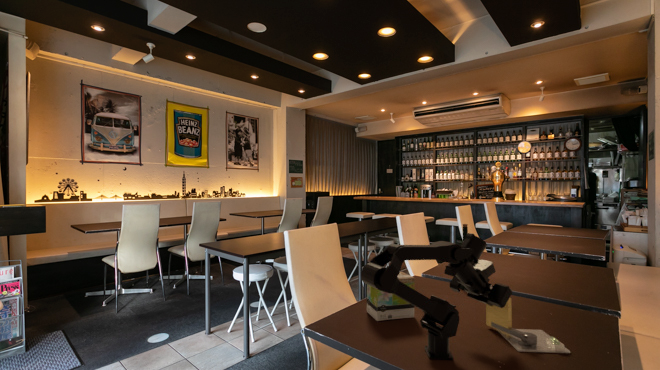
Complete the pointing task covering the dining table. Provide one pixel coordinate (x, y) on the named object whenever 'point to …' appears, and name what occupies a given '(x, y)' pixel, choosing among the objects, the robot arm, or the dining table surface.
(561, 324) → the dining table surface
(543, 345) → the plate
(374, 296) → the tea box
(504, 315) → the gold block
